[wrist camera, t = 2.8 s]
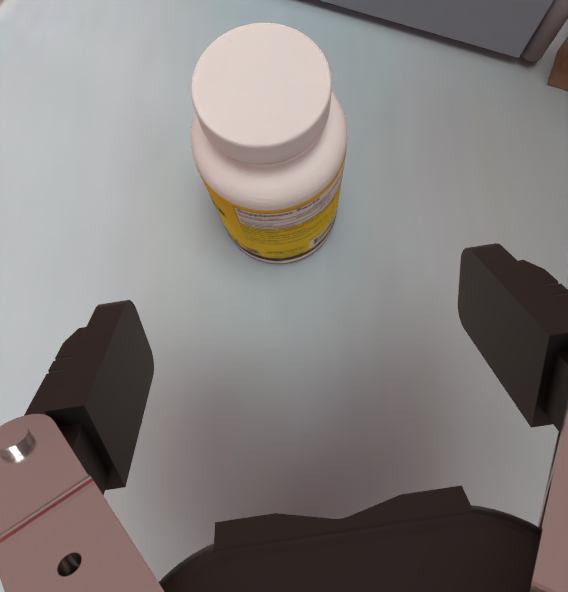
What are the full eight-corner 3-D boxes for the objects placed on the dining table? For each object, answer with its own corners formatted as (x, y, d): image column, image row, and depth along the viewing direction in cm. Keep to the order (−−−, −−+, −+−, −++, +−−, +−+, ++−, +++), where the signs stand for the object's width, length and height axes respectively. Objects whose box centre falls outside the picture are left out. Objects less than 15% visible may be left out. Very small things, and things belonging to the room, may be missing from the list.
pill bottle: (226, 162, 27) (173, 2, 16) (335, 162, 27) (354, -2, 16) (221, 266, 26) (159, 166, 15) (335, 267, 25) (357, 166, 15)
